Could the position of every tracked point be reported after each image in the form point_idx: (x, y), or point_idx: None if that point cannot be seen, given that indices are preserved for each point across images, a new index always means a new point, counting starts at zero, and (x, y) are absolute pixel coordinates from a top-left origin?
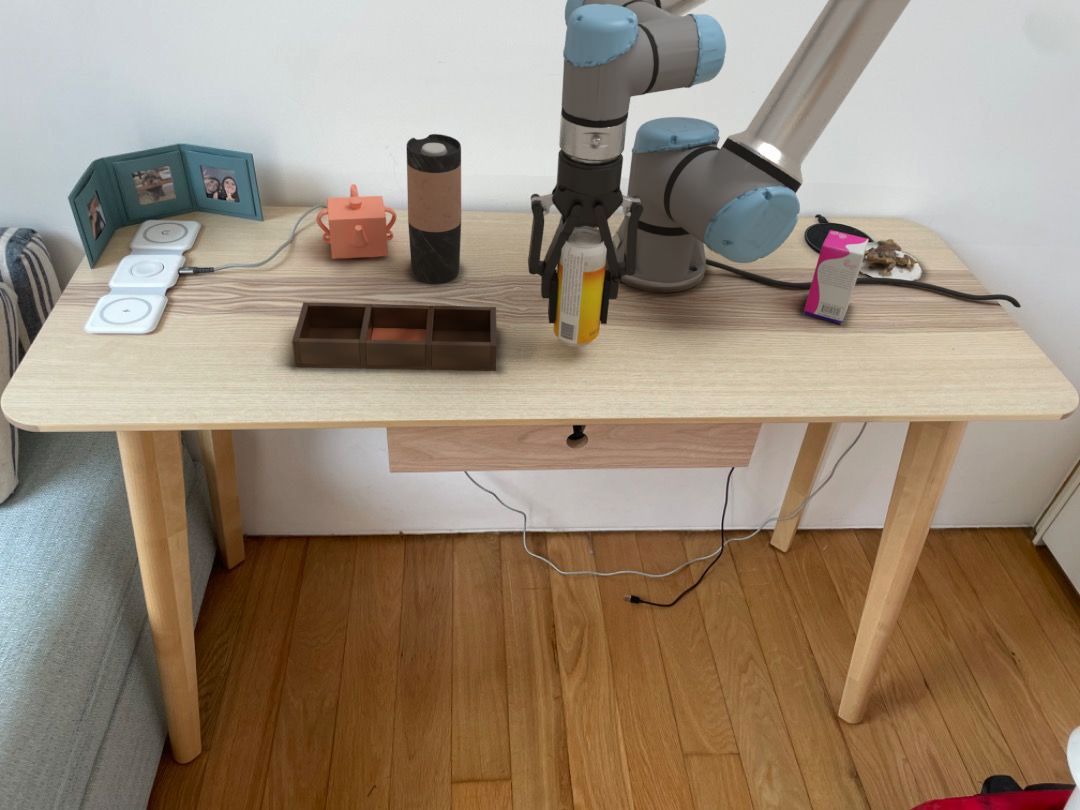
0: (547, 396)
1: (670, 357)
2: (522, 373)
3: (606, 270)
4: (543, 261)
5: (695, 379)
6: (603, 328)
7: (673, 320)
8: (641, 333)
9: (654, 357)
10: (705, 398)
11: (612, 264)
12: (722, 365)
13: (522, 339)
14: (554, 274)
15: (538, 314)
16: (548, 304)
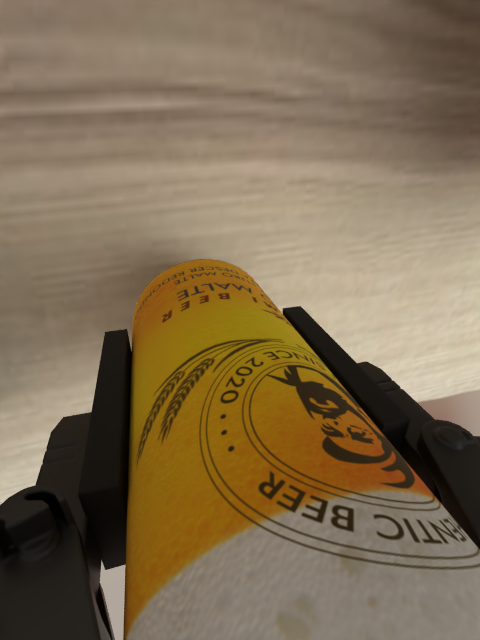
0: None
1: (395, 284)
2: (71, 396)
3: (398, 425)
4: (2, 599)
5: (412, 342)
6: (275, 178)
7: (459, 121)
8: (365, 195)
9: (365, 289)
10: (407, 384)
11: None
12: (472, 294)
13: (36, 262)
14: (113, 528)
15: (59, 99)
16: (102, 351)
